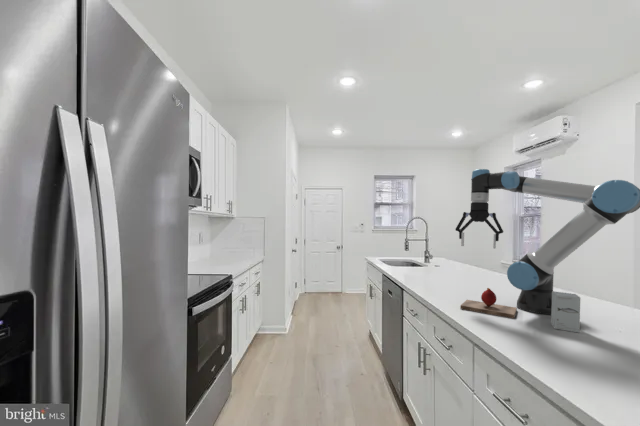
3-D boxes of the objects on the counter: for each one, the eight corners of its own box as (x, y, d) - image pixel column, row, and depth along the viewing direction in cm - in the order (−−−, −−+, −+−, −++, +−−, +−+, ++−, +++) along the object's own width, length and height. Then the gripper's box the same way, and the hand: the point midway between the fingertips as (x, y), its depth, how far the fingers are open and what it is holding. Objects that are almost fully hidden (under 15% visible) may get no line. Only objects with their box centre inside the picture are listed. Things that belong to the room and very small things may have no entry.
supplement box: (554, 329, 115) (555, 294, 116) (550, 323, 122) (551, 290, 122) (580, 333, 112) (580, 297, 112) (575, 327, 118) (575, 293, 119)
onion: (492, 305, 141) (493, 287, 141) (498, 308, 135) (499, 289, 136) (478, 304, 142) (479, 286, 142) (484, 307, 136) (484, 288, 136)
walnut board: (516, 311, 138) (516, 307, 138) (514, 318, 127) (514, 314, 127) (466, 302, 150) (466, 299, 150) (460, 308, 138) (460, 305, 138)
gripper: (450, 201, 155) (448, 245, 154) (509, 201, 141) (508, 249, 141) (453, 202, 161) (451, 244, 160) (510, 203, 147) (509, 249, 147)
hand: (478, 247), depth 151 cm, fingers open, 13 cm apart
